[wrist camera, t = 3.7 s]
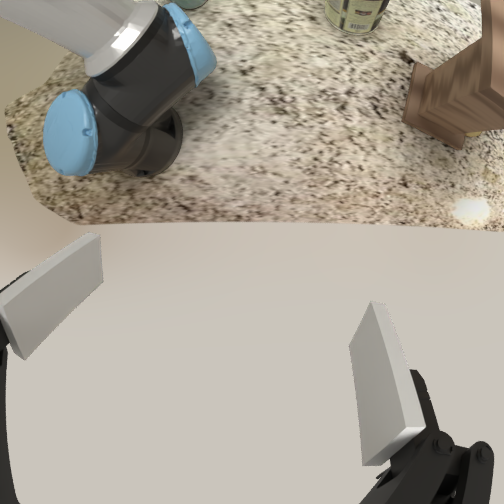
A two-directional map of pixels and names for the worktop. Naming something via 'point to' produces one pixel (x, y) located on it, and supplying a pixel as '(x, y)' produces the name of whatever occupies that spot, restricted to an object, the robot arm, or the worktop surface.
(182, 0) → the disposable coffee cup
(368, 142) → the worktop surface
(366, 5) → the coffee can
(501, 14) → the stand
